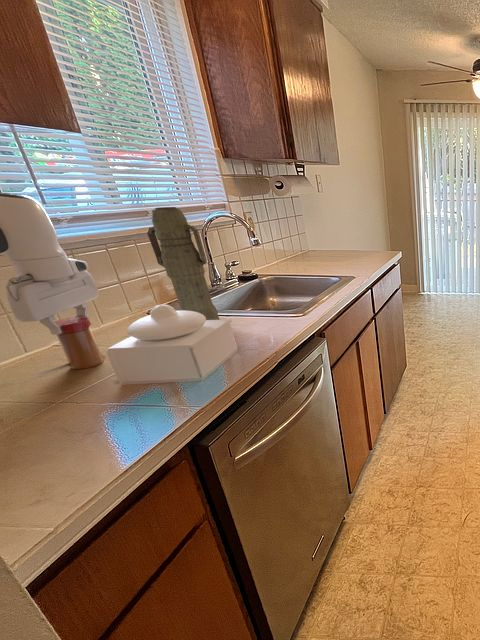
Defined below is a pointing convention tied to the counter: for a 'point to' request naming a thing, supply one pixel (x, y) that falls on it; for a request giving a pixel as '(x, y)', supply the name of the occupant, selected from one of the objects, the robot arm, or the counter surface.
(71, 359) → the jar
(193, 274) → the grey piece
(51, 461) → the counter surface
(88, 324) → the lid
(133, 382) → the butter dish
